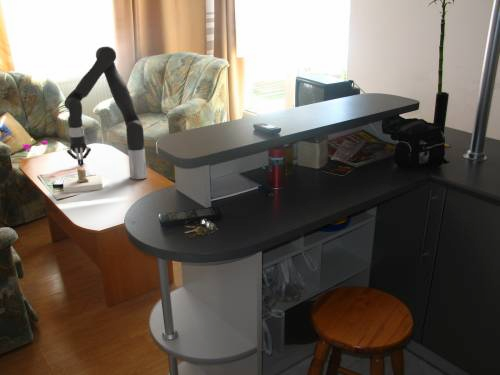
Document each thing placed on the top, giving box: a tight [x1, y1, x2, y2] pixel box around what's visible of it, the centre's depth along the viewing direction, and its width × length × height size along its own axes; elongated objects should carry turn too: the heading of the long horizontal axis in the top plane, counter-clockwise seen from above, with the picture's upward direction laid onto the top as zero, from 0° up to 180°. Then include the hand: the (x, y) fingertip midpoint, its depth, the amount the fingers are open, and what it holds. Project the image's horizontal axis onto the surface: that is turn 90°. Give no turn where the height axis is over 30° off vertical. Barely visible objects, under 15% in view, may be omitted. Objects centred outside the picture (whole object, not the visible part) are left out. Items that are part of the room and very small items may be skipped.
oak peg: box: [77, 167, 87, 183], centre depth 274 cm, size 4×4×10 cm
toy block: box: [22, 140, 48, 150], centre depth 338 cm, size 15×6×8 cm, turn 135°
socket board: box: [62, 174, 104, 194], centre depth 275 cm, size 20×16×3 cm
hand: (81, 165), depth 271 cm, fingers closed
